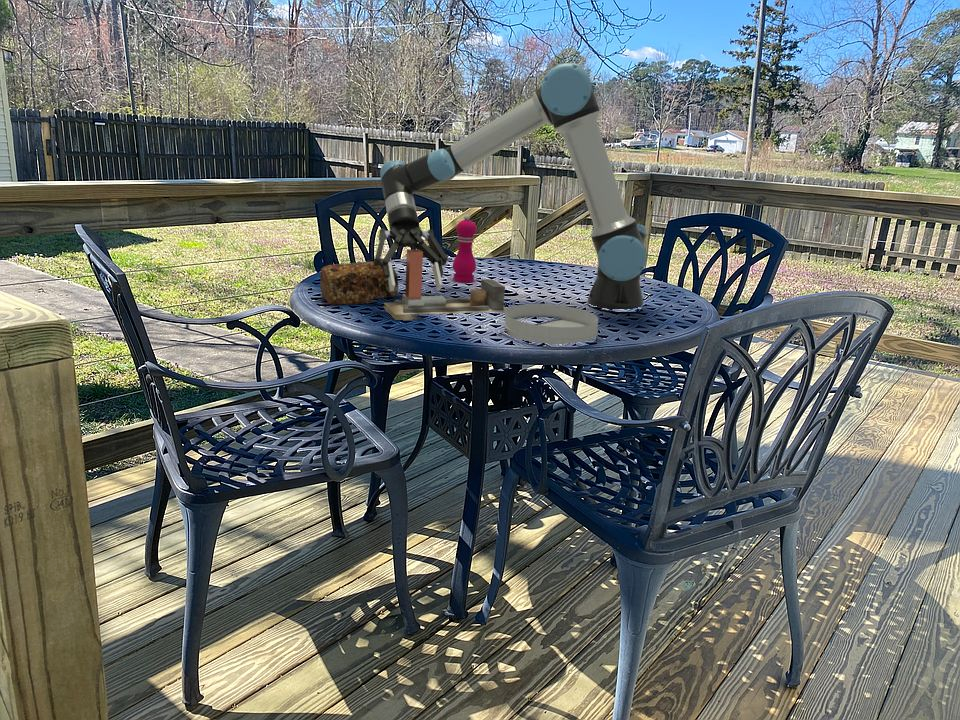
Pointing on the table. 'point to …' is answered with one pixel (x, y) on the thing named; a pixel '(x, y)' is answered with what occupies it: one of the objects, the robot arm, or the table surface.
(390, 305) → the board
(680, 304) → the table surface
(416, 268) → the carriage
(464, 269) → the pepper mill
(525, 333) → the dish
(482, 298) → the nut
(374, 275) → the bread
